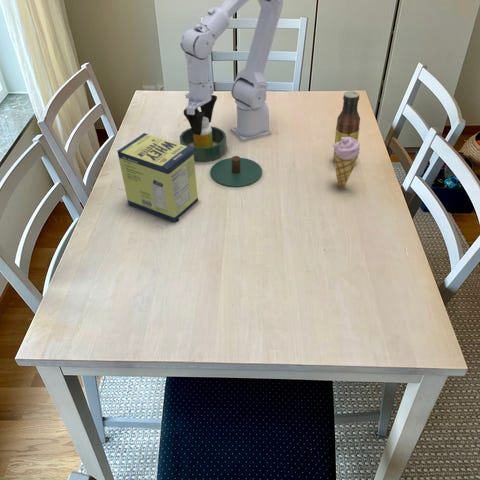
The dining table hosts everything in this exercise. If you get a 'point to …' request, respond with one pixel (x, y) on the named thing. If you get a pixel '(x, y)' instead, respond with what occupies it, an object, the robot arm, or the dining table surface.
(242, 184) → the lid
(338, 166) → the ice cream cone
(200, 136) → the supplement bottle
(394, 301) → the dining table surface
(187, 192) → the protein box
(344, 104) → the sauce bottle
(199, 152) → the pot
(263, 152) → the dining table surface
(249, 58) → the robot arm
